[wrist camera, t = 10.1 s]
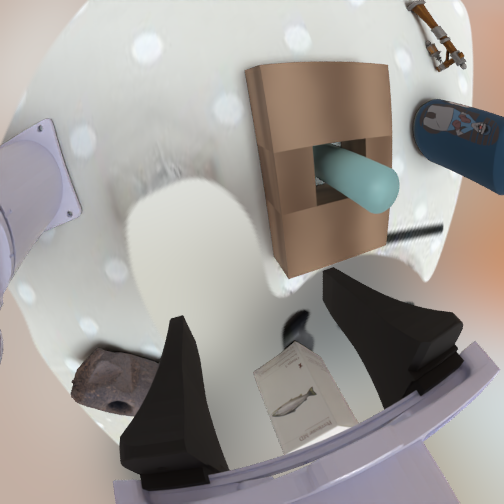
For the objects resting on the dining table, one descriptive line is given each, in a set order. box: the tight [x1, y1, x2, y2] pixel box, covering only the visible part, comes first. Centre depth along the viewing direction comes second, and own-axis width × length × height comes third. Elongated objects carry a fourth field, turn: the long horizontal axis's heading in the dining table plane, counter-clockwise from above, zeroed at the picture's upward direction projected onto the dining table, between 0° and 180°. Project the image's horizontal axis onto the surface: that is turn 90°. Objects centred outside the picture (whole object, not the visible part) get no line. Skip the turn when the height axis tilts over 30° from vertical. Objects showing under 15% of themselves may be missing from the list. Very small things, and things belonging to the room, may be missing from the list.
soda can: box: [413, 99, 504, 195], centre depth 18 cm, size 7×7×12 cm
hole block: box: [245, 62, 392, 279], centre depth 20 cm, size 10×16×4 cm, turn 9°
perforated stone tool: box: [71, 348, 159, 416], centre depth 25 cm, size 15×5×7 cm, turn 55°
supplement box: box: [253, 341, 359, 455], centre depth 30 cm, size 7×7×13 cm
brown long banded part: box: [407, 0, 467, 72], centre depth 16 cm, size 2×8×4 cm, turn 31°
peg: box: [312, 143, 399, 214], centre depth 18 cm, size 3×3×8 cm
